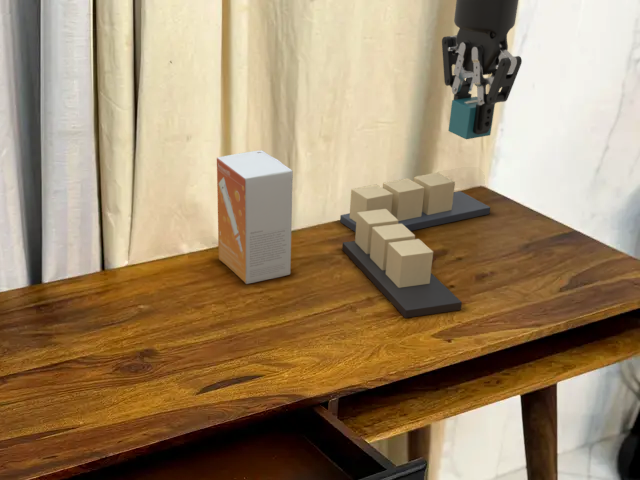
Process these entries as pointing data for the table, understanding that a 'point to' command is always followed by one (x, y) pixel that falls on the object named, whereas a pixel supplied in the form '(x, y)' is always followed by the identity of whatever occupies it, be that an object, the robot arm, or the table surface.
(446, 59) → the robot arm
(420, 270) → the near word
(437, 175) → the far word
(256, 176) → the small box
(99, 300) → the table surface
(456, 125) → the teal marked cube
